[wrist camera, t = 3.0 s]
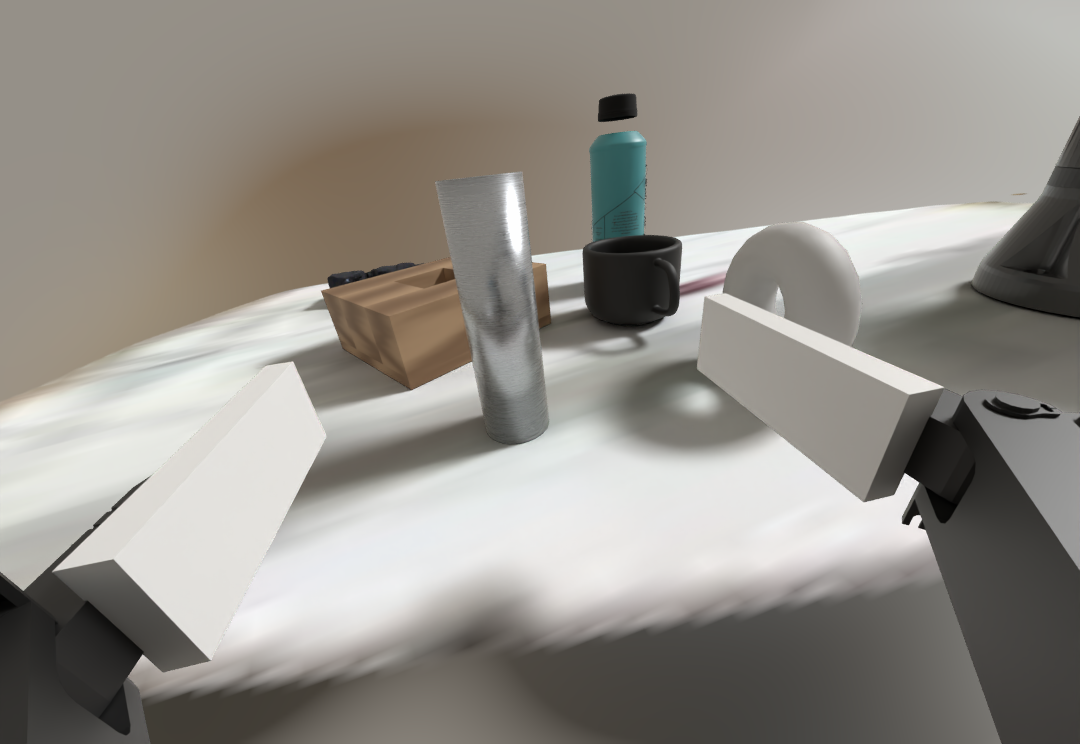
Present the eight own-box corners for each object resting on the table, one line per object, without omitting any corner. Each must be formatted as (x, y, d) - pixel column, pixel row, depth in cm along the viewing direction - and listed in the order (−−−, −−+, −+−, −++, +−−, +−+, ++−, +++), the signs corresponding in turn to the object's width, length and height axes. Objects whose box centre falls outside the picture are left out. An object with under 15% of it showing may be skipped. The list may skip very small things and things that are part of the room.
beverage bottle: (606, 293, 46) (602, 90, 36) (584, 281, 51) (576, 102, 42) (654, 284, 47) (663, 85, 38) (628, 273, 53) (630, 98, 43)
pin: (562, 419, 24) (540, 169, 17) (515, 452, 22) (469, 177, 15) (519, 399, 27) (486, 175, 20) (473, 427, 24) (418, 183, 18)
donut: (705, 350, 30) (721, 216, 26) (747, 344, 30) (771, 210, 26) (790, 422, 21) (838, 239, 17) (848, 414, 22) (913, 230, 17)
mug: (572, 311, 42) (568, 244, 38) (645, 296, 43) (648, 231, 40) (625, 353, 31) (626, 266, 28) (718, 331, 33) (729, 247, 30)
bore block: (551, 323, 39) (545, 263, 36) (411, 389, 29) (389, 316, 26) (470, 302, 48) (460, 254, 45) (343, 348, 38) (321, 290, 36)
